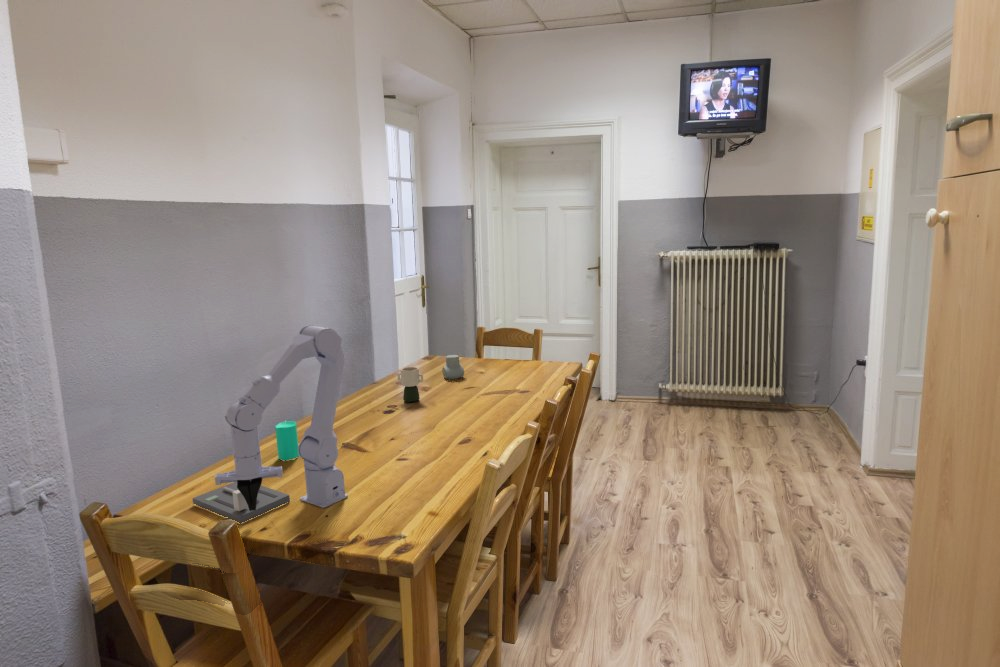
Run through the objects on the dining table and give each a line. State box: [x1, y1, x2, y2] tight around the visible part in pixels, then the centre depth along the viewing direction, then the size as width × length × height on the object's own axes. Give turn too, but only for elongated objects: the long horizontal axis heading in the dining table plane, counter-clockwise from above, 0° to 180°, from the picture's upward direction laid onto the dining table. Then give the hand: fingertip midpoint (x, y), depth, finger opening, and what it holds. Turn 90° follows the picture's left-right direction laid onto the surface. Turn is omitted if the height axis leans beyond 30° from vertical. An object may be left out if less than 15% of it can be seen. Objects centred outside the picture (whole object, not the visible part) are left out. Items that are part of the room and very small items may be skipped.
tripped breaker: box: [232, 490, 248, 511], centre depth 152 cm, size 2×2×4 cm
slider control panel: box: [192, 482, 291, 525], centre depth 160 cm, size 20×14×3 cm
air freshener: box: [441, 354, 465, 380], centre depth 282 cm, size 11×8×10 cm
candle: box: [274, 419, 300, 460], centre depth 191 cm, size 6×6×12 cm
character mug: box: [396, 366, 424, 403], centre depth 247 cm, size 11×7×13 cm, turn 71°
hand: (252, 508), depth 149 cm, fingers closed
